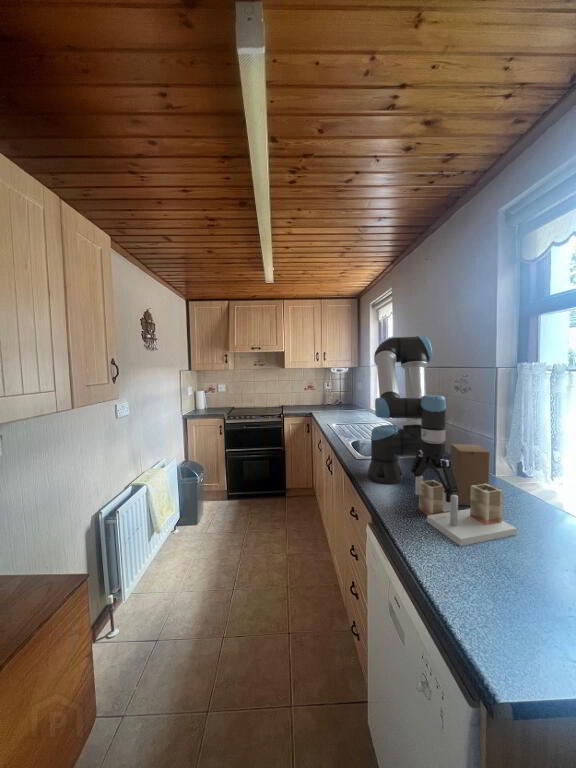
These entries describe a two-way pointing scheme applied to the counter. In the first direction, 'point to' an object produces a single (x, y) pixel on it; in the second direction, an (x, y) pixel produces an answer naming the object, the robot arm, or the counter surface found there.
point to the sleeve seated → (486, 504)
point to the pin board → (468, 526)
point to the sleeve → (431, 497)
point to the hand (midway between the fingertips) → (432, 502)
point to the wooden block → (469, 469)
